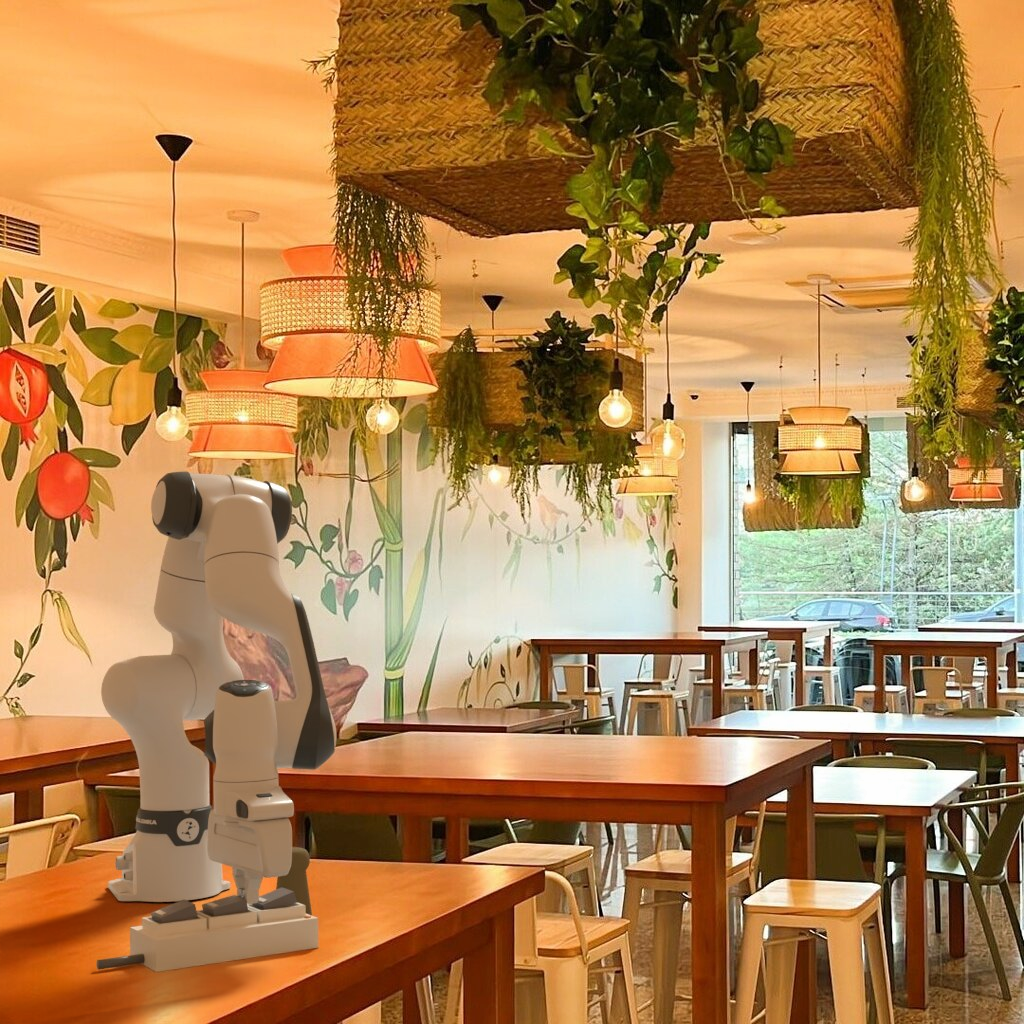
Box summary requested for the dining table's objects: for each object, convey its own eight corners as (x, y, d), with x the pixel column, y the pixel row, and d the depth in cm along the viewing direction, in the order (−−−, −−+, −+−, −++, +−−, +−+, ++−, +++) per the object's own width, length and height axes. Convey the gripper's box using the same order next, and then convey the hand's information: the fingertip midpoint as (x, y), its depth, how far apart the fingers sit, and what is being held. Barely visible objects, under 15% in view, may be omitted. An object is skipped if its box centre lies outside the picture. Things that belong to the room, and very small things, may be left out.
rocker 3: (254, 911, 214) (250, 899, 214) (284, 898, 216) (281, 886, 216) (265, 915, 210) (262, 903, 210) (296, 902, 213) (293, 890, 213)
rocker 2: (203, 916, 210) (201, 903, 210) (236, 906, 212) (234, 893, 212) (215, 921, 207) (213, 908, 206) (248, 910, 209) (246, 898, 209)
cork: (315, 918, 231) (314, 844, 231) (311, 927, 225) (310, 850, 225) (274, 919, 231) (273, 845, 231) (269, 928, 224) (268, 851, 225)
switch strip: (86, 963, 204) (85, 921, 204) (287, 934, 220) (287, 895, 220) (110, 978, 195) (110, 934, 196) (318, 947, 211) (318, 906, 212)
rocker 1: (153, 924, 206) (150, 911, 206) (186, 910, 209) (183, 898, 208) (164, 929, 203) (160, 916, 203) (197, 915, 205) (194, 902, 205)
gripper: (195, 795, 218) (196, 894, 218) (256, 809, 202) (258, 916, 201) (236, 791, 222) (238, 888, 221) (299, 804, 205) (301, 910, 204)
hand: (248, 902), depth 211 cm, fingers closed, pressing on rocker 2
